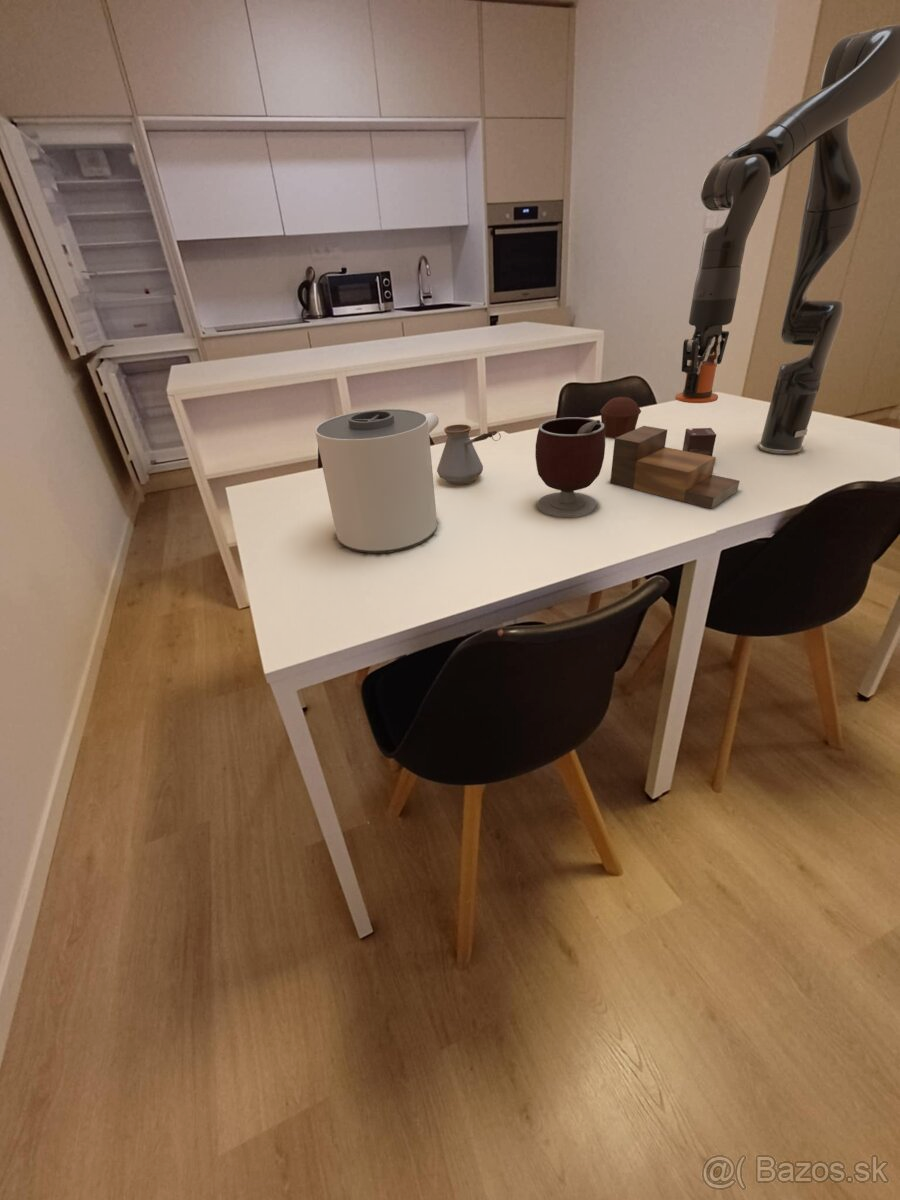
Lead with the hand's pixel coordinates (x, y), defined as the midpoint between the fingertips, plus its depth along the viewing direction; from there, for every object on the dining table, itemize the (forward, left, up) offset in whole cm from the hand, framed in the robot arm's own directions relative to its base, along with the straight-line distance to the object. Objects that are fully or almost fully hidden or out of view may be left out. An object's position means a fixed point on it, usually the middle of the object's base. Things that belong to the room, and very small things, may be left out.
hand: (697, 390), depth 107 cm
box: (-18, -6, -21) cm, 28 cm away
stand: (+1, -2, -21) cm, 21 cm away
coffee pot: (+28, -39, -21) cm, 52 cm away
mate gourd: (+24, -13, -21) cm, 34 cm away
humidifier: (+55, -34, -21) cm, 68 cm away
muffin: (-27, -34, -21) cm, 48 cm away
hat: (0, 0, -1) cm, 1 cm away
